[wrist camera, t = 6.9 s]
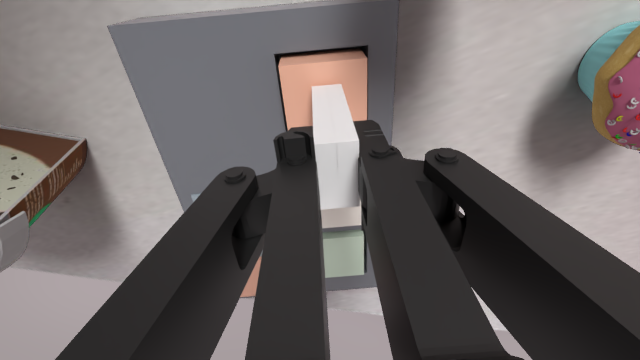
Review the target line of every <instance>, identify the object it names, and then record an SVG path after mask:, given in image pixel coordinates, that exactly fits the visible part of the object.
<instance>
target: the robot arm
mask: <svg viewBox="0 0 640 360" xmlns="http://www.w3.org/2000/svg"><path fill="white" fill-rule="evenodd" d="M312 112H313V126H303V127H292V128H290V129H289V130H288V131H286V132H284V133H281V134H279V135H277V136H276V137H275V138H274V140H273V142H274V147H275V153H276V158H277V166H276V169H274V170H272V171H270V172H268V173H265V174H261V175H257V176H256V173H255V171H254V170H253V169H251V168H250V167H244V166H242V167H233V168H228V169H227V170H225V171H223V172H221V173H220V174H218V175H217V176H216V177H215V178H214V179H213V181H212V182H211V183H210V184H209V185H208V186H207V187H206V189H205V190H204V191H203V192H202V193H201V194H200V195H199V197H198V198H197V199H196V200H195V201H194V202H193V203H192V204H191V206H190V207H189V208H188V209H187V210H186V211H185V212H184V214H183V215H182V216H181V217H180V218H179V219H178V220H177V222H176V223H175V224H174V225H173V226H172V227H171V228H170V229H169V231H168V232H167V233H166V234H165V235H164V236H163V237H162V239H161V240H160V241H159V242H158V243H157V244H156V245H155V247H154V248H153V249H152V250H151V251H150V252H149V253H148V254H147V256H146V257H145V258H144V259H143V260H142V261H141V262H140V264H139V265H138V266H137V267H136V268H135V269H134V270H133V272H132V273H131V274H130V275H129V276H128V277H127V278H126V279H125V281H124V282H123V283H122V284H121V285H120V286H119V287H118V289H117V290H116V291H115V292H114V293H113V294H112V295H111V297H110V298H109V299H108V300H107V301H106V302H105V303H104V305H103V306H102V307H101V308H100V309H99V310H98V312H97V313H96V314H95V315H94V316H93V317H92V318H91V319H90V320H89V322H88V323H87V324H86V325H85V326H84V327H83V328H82V330H81V331H80V332H79V333H78V334H77V335H76V336H75V337H74V339H73V340H72V341H71V342H70V343H69V344H68V346H67V347H66V348H65V349H64V350H63V351H62V352H61V353H60V355H59V356H58V357H57V358H56V359H55V360H210V358H211V355H212V354H213V352H214V350H215V348H216V346H217V344H218V342H219V339H220V337H221V336H222V333H223V331H224V329H225V327H226V325H227V323H228V321H229V319H230V317H231V315H232V313H233V311H234V309H235V306H236V304H237V302H238V300H239V298H240V296H241V294H242V292H243V290H244V288H245V286H246V284H247V282H248V279H249V277H250V275H251V273H252V271H253V269H254V267H255V265H256V263H257V261H258V259H259V257H260V255H261V252H262V250H263V252H262V258H261V264H260V270H259V277H258V283H257V289H256V295H255V302H254V307H253V313H252V320H251V326H250V332H249V338H248V344H247V350H246V356H245V360H330V349H329V332H328V316H327V298H326V282H325V266H324V249H323V233H322V217H321V210H322V209H334V208H346V207H359V206H360V200H361V231H364V230H365V234H366V239H367V243H368V248H369V252H370V257H371V261H372V266H373V270H374V275H375V279H376V284H377V288H378V293H379V297H380V302H381V306H382V311H383V315H384V320H385V324H386V329H387V333H388V338H389V343H390V347H391V352H392V356H393V360H524V359H522V358H519V357H515V356H511V355H510V354H508V353H507V352H506V351H505V350H504V348H503V346H502V345H501V343H500V341H499V339H498V338H497V336H496V334H495V332H494V330H493V328H492V326H491V324H490V322H489V320H488V319H487V317H486V315H485V313H484V311H483V309H482V307H481V305H480V303H479V301H478V299H477V298H476V296H475V294H474V292H473V290H472V288H473V289H474V291H475V292H476V293H477V294H478V295H479V297H480V298H481V299H482V300H483V301H484V302H485V304H486V305H487V306H488V307H489V308H490V310H491V311H492V312H493V313H494V314H495V316H496V317H497V318H498V319H499V320H500V322H501V323H502V324H503V325H504V326H505V327H506V329H507V330H508V331H509V332H510V333H511V334H512V336H513V337H514V338H515V339H516V340H517V342H518V343H519V344H520V345H521V347H522V348H523V349H524V350H525V351H526V352H527V354H528V355H529V356H530V357H531V358H532V359H533V360H640V273H639V272H638V271H636V270H635V269H633V268H632V267H630V266H629V265H627V264H626V263H624V262H623V261H621V260H620V259H618V258H617V257H616V256H614V255H613V254H611V253H610V252H608V251H607V250H605V249H604V248H602V247H601V246H599V245H598V244H596V243H595V242H593V241H592V240H591V239H589V238H588V237H586V236H585V235H583V234H582V233H580V232H579V231H577V230H576V229H574V228H573V227H571V226H570V225H568V224H567V223H566V222H564V221H563V220H561V219H560V218H558V217H557V216H555V215H554V214H552V213H551V212H549V211H548V210H546V209H545V208H543V207H542V206H541V205H539V204H538V203H536V202H535V201H533V200H532V199H530V198H529V197H527V196H526V195H524V194H523V193H521V192H520V191H518V190H517V189H516V188H514V187H513V186H511V185H510V184H508V183H507V182H505V181H504V180H502V179H501V178H499V177H498V176H496V175H495V174H493V173H492V172H491V171H489V170H488V169H486V168H485V167H483V166H482V165H480V164H479V163H477V162H476V161H474V160H473V159H471V158H470V157H468V156H467V155H466V154H464V153H462V152H460V151H457V150H453V149H451V148H447V149H446V148H440V149H433V150H431V151H428V152H427V153H426V154H425V161H419V160H410V159H405V158H403V157H402V155H401V153H400V151H399V150H398V149H397V148H395V147H393V146H390V145H389V144H388V142H387V140H386V138H385V136H384V134H383V132H382V130H381V127H380V125H379V124H378V123H376V122H375V121H373V120H362V121H353V120H352V117H351V113H350V110H349V107H348V104H347V101H346V97H345V94H344V91H343V88H342V85H341V84H333V85H322V86H312ZM459 207H461V208H462V209H463V210H464V212H465V216H464V215H463V214H462V213H461V212H460V211H459ZM471 287H472V288H471Z"/></svg>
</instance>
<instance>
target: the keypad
mask: <svg viewBox="0 0 640 360" xmlns="http://www.w3.org/2000/svg"><path fill="white" fill-rule="evenodd" d="M398 13H399V0H326V1H315V2H305V3H294V4H283V5H273V6H262V7H251V8H240V9H230V10H219V11H208V12H197V13H187V14H176V15H165V16H155V17H144V18H137V19H133V20H129V21H125V22H121V23H117V24H113V25H109V26H107V27H108V29H109V32H110V34H111V36H112V39H113V41H114V44H115V46H116V48H117V51H118V53H119V56H120V58H121V61H122V63H123V65H124V68H125V70H126V73H127V75H128V77H129V80H130V82H131V85H132V87H133V90H134V92H135V94H136V97H137V99H138V102H139V104H140V107H141V109H142V111H143V114H144V116H145V119H146V121H147V123H148V126H149V128H150V131H151V133H152V136H153V138H154V140H155V143H156V145H157V148H158V150H159V152H160V155H161V157H162V160H163V162H164V165H165V167H166V169H167V172H168V174H169V177H170V179H171V181H172V184H173V186H174V189H175V191H176V194H177V196H178V198H179V201H180V203H181V206H182V208H183V210H184V212H185V211H186V210H187V209H188V208H189V207H190V206H191V204H192V203H193V202H194V201H195V200H196V199H197V198H198V197H199V195H200V194H201V193H202V192H203V191H204V190H205V189H206V187H207V186H208V185H209V184H210V183H211V182H212V181H213V179H214V178H215V177H216V176H217V175H218V174H220V173H221V172H223V171H225V170H227V169H228V168H233V167H242V166H244V167H250V168H251V169H253V170H254V171H255V173H256V176H257V175H261V174H265V173H268V172H270V171H272V170H274V169H276V166H277V158H276V153H275V147H274V142H273V140H274V138H275V137H276V136H277V135H279V134H281V133H284V132H286V131H288V128H287V122H286V115H285V108H284V101H283V94H282V88H281V81H280V74H279V67H278V66H279V62H280V59H281V56H282V55H290V54H301V53H312V52H323V51H334V50H345V49H356V48H360V49H361V50H362V52H363V53H364V54H365V56H366V57H367V120H373V121H375V122H376V123H378V124H379V125H380V127H381V130H382V132H383V134H384V136H385V138H386V140H387V142H388V144H389V145H390V146H391V142H392V123H393V105H394V86H395V68H396V50H397V31H398ZM360 229H361V225H356V226H344V227H333V228H322V233H324V232H336V231H348V230H360ZM363 234H364V275H354V276H342V277H330V278H325V282H326V291H335V290H347V289H359V288H372V287H377V284H376V279H375V275H374V270H373V266H372V261H371V257H370V252H369V248H368V243H367V239H366V234H365V230H364V231H363ZM262 252H263V250H262ZM262 252H261V255H260V257H259V259H258V261H257V263H256V265H255V267H254V269H253V271H252V273H251V275H250V277H249V279H248V282H247V284H246V286H245V288H244V290H243V292H242V294H241V296H240V298H249V297H255V295H256V289H257V283H258V277H259V270H260V264H261V258H262Z"/></svg>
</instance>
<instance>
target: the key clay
mask: <svg viewBox="0 0 640 360" xmlns="http://www.w3.org/2000/svg"><path fill="white" fill-rule="evenodd" d="M278 67H279V74H280V81H281V88H282V94H283V101H284V108H285V115H286V122H287V128H288V130H289V129H290V128H292V127H303V126H313V112H312V86H322V85H333V84H341V85H342V88H343V91H344V94H345V97H346V101H347V104H348V107H349V110H350V113H351V117H352V120H353V121H362V120H367V57H366V56H365V54H364V53H363V52H362V50H361V49H360V48H356V49H345V50H334V51H323V52H312V53H301V54H290V55H282V56H281V59H280V62H279V66H278Z"/></svg>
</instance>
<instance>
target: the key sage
mask: <svg viewBox="0 0 640 360" xmlns="http://www.w3.org/2000/svg"><path fill="white" fill-rule="evenodd" d="M323 249H324V266H325V278H330V277H342V276H354V275H364V234H363V231H361V229H360V230H348V231H336V232H324V233H323Z"/></svg>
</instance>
